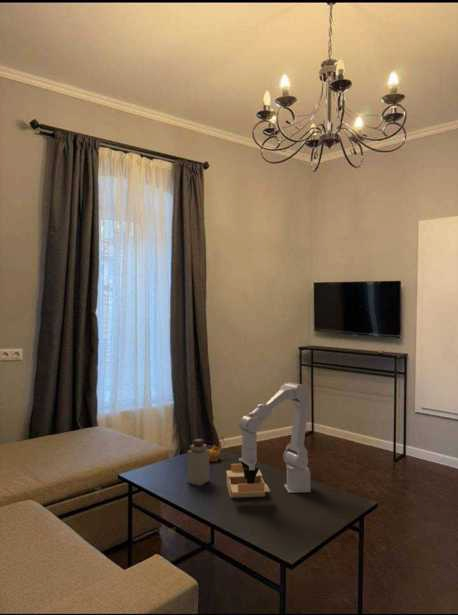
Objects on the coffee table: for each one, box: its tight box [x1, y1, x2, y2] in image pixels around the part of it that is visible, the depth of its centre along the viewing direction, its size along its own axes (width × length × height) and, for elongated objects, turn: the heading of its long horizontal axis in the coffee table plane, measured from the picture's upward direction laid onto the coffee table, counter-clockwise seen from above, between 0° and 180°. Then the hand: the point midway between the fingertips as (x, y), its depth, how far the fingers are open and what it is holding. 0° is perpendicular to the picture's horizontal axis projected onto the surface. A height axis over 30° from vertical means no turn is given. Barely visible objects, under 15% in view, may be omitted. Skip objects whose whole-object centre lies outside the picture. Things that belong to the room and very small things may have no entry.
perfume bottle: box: [186, 438, 210, 487], centre depth 190 cm, size 7×7×18 cm
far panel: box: [225, 463, 263, 478], centre depth 185 cm, size 14×7×3 cm, turn 96°
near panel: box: [230, 482, 271, 493], centre depth 169 cm, size 14×7×3 cm, turn 96°
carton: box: [226, 475, 266, 499], centre depth 181 cm, size 14×14×5 cm
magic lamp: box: [208, 435, 226, 462], centre depth 219 cm, size 7×18×11 cm, turn 125°
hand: (249, 482), depth 171 cm, fingers open, 7 cm apart
